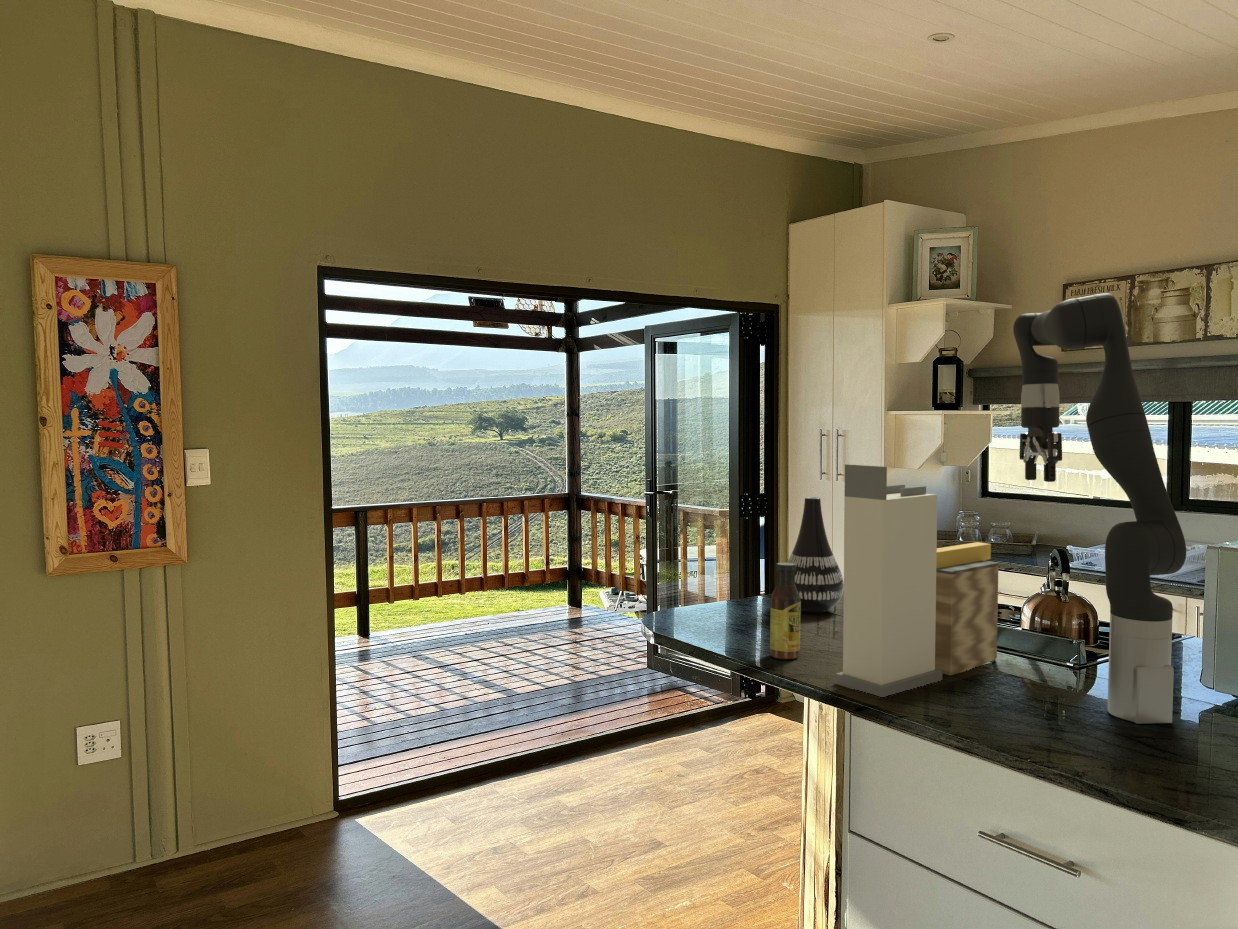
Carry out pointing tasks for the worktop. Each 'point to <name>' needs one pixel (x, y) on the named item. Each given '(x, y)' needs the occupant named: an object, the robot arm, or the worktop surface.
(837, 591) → the vase
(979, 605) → the block
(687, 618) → the worktop surface
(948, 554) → the plug rod
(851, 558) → the socket tower
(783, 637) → the sauce bottle
